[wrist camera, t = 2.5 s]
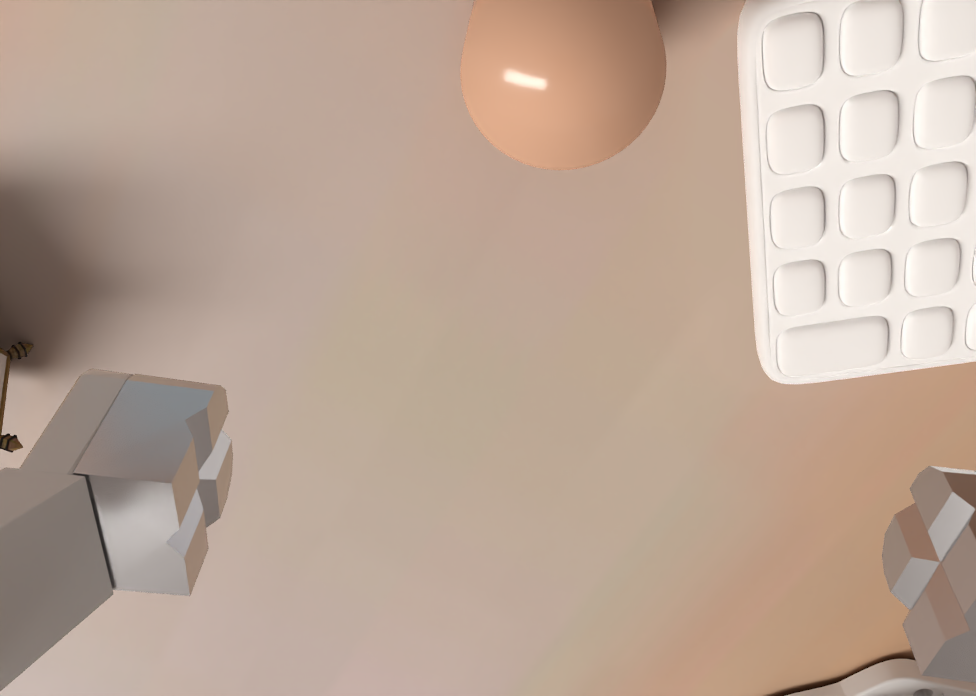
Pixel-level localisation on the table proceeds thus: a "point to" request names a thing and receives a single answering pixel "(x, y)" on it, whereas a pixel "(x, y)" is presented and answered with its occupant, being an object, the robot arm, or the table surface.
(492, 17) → the terracotta capsule
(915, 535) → the robot arm
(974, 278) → the calculator
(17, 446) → the game die
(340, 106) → the table surface
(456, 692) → the table surface
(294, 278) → the table surface
